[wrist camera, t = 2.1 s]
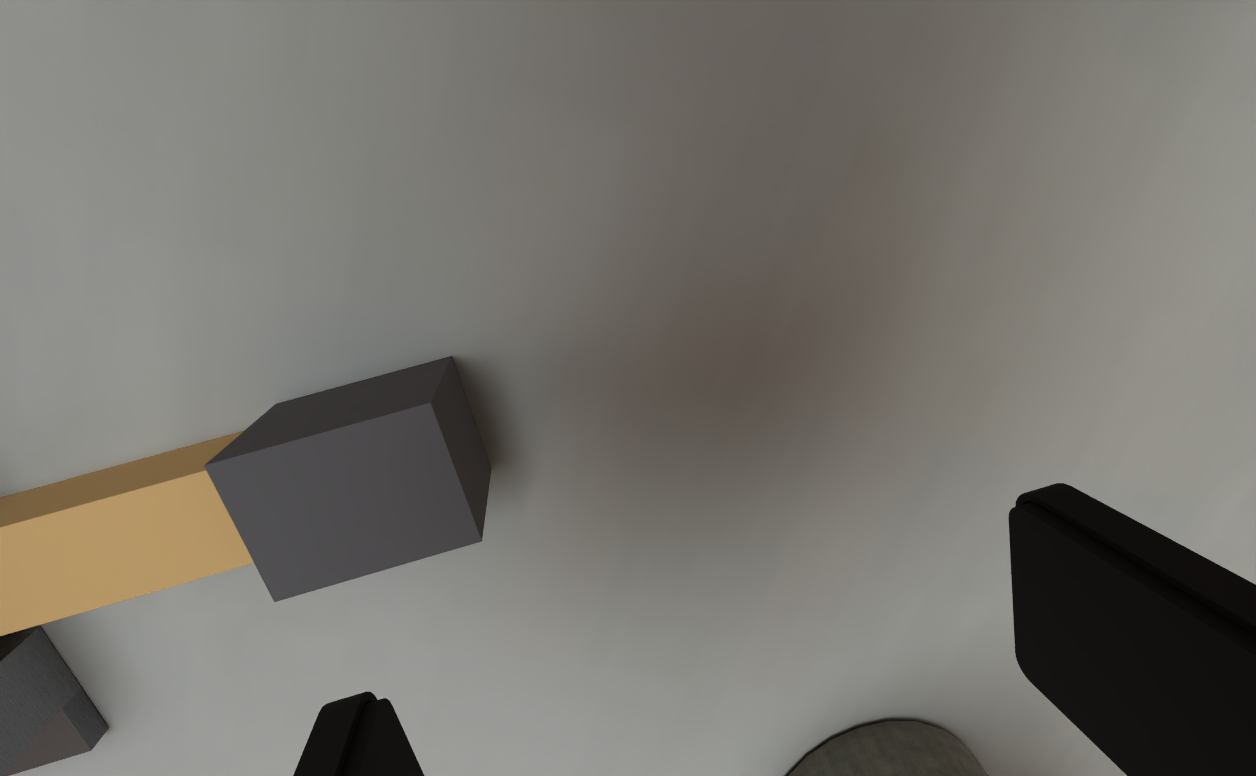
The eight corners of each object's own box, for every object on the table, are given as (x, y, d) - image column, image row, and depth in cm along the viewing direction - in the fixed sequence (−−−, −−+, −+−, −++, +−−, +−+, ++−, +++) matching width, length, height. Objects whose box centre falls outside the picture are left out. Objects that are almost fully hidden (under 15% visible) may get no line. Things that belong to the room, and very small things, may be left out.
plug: (451, 355, 22) (430, 403, 17) (491, 468, 23) (481, 541, 18) (-227, 541, 20) (-460, 649, 15) (-141, 649, 22) (-328, 778, 17)
